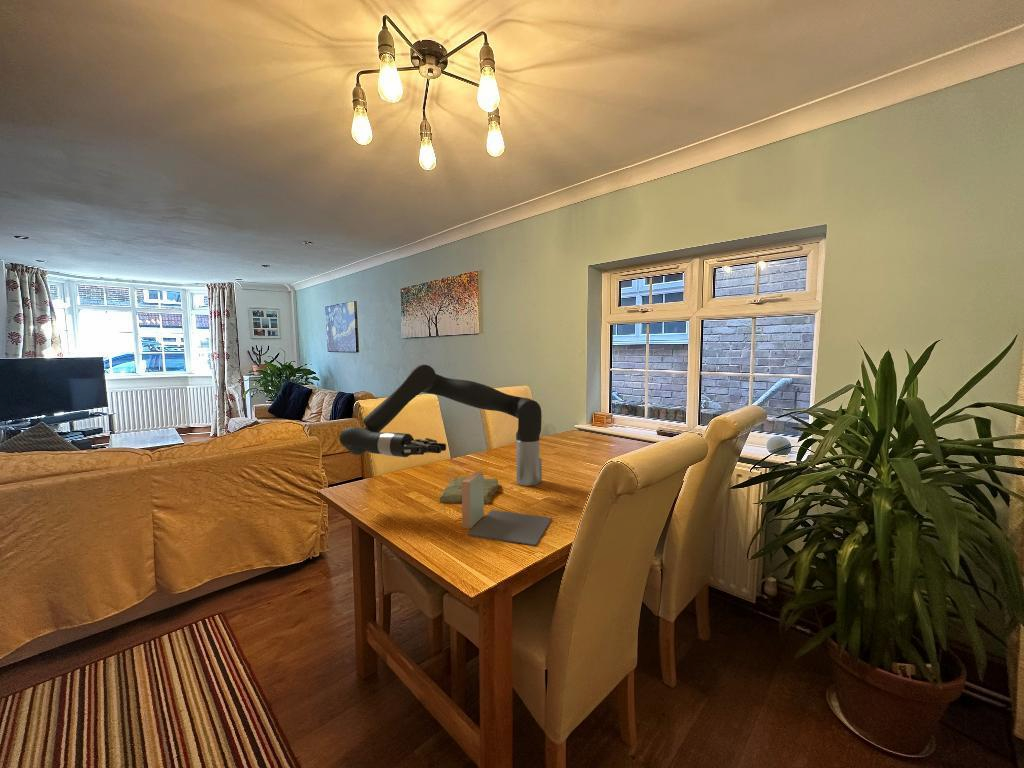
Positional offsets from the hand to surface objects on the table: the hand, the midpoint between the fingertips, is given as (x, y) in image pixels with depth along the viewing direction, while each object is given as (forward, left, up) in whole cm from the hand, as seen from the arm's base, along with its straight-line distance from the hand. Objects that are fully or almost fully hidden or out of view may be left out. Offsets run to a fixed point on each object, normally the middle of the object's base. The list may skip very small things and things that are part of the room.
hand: (442, 448), depth 125 cm
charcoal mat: (-14, +17, -22) cm, 31 cm away
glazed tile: (-7, +8, -22) cm, 24 cm away
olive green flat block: (-17, -15, -23) cm, 32 cm away
